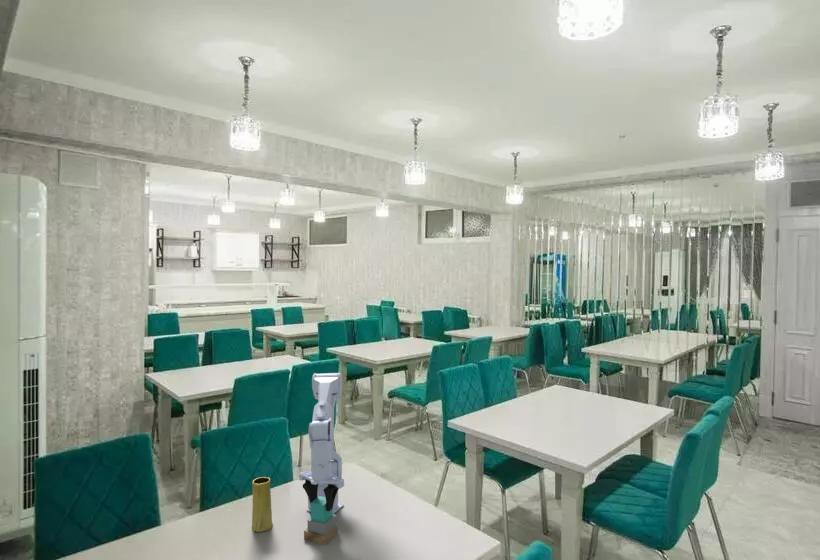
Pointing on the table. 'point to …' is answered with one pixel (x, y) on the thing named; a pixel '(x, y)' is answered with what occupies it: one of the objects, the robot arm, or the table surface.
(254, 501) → the vase
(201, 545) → the table surface
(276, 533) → the table surface
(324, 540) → the walnut slab
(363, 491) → the table surface
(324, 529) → the slate slab
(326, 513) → the teal block
